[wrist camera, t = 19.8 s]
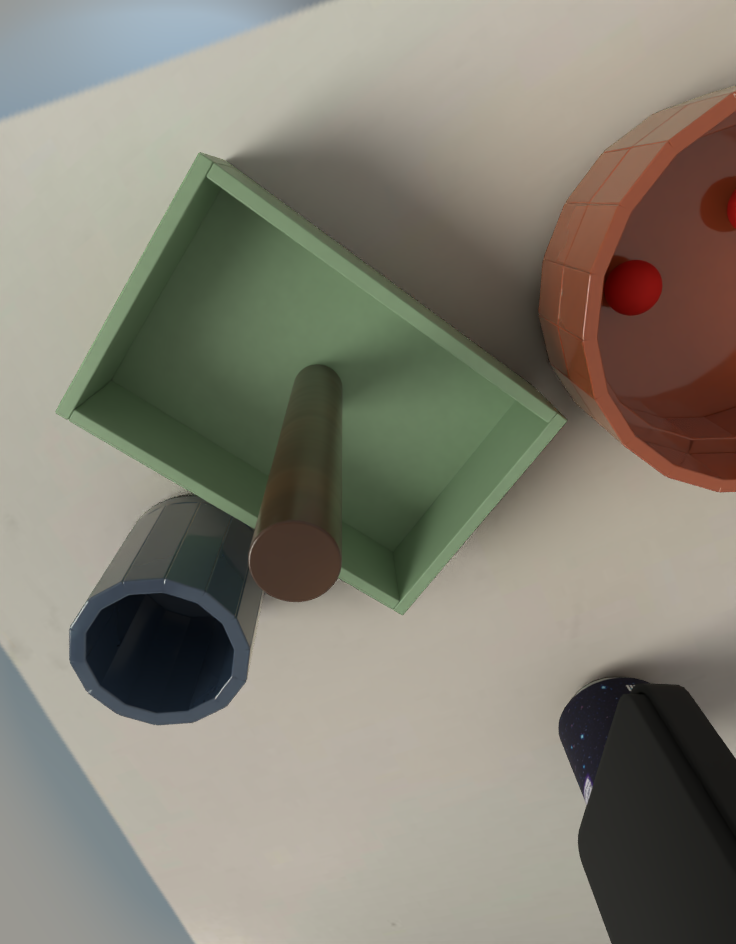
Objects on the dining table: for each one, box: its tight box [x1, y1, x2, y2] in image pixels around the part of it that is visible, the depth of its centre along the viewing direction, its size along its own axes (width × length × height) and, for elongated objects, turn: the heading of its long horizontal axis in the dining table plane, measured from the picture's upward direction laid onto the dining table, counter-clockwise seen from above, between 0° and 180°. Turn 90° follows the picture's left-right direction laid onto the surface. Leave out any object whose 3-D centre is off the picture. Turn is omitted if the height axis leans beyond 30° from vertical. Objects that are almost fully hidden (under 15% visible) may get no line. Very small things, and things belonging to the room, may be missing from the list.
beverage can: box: [559, 677, 650, 804], centre depth 29 cm, size 6×6×12 cm
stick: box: [248, 364, 342, 602], centre depth 21 cm, size 2×2×14 cm
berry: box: [605, 260, 662, 316], centre depth 25 cm, size 2×2×2 cm
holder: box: [69, 496, 264, 725], centre depth 27 cm, size 6×6×7 cm
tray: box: [56, 153, 567, 615], centre depth 25 cm, size 15×10×4 cm, turn 55°
